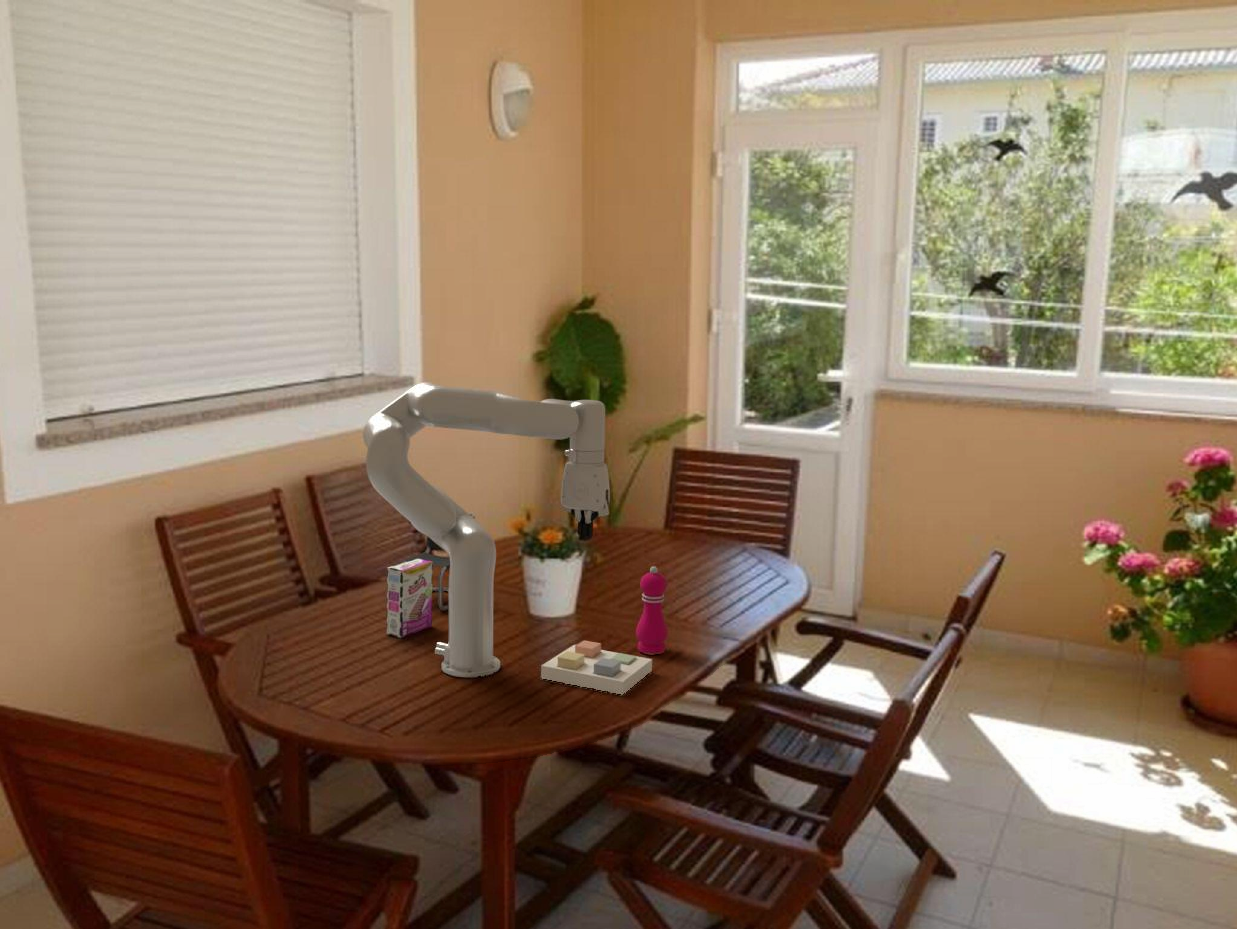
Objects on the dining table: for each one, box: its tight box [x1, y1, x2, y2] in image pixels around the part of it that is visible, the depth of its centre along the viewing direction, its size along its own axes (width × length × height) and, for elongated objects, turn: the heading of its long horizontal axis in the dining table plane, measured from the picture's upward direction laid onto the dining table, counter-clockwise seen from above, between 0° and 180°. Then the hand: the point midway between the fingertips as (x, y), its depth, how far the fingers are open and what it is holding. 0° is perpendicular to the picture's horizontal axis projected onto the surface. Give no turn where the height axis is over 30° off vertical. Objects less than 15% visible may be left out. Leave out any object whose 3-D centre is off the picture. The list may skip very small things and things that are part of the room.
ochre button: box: [558, 651, 585, 670], centre depth 229 cm, size 4×4×2 cm
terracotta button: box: [575, 640, 602, 659], centre depth 236 cm, size 4×4×2 cm
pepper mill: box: [635, 566, 669, 653], centre depth 246 cm, size 7×7×20 cm
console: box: [540, 644, 653, 696], centre depth 231 cm, size 19×15×3 cm
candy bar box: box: [386, 559, 434, 639], centre depth 256 cm, size 11×5×16 cm, turn 149°
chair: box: [400, 513, 476, 612], centre depth 280 cm, size 13×17×22 cm
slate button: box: [594, 658, 621, 677], centre depth 225 cm, size 4×4×2 cm
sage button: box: [611, 652, 637, 665], centre depth 233 cm, size 4×4×2 cm
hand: (585, 539), depth 238 cm, fingers closed
